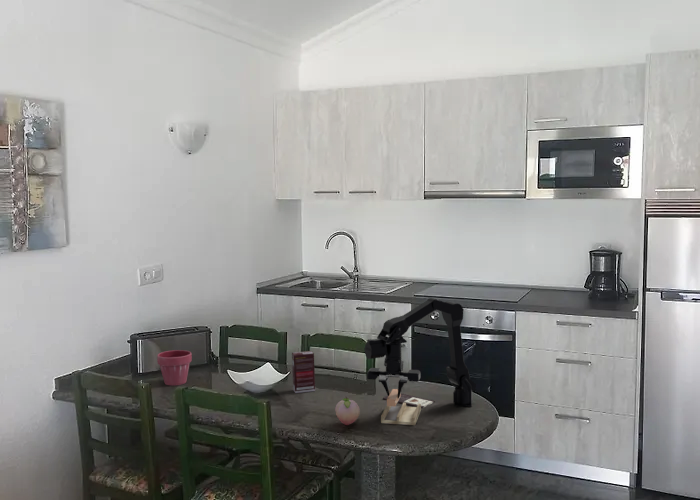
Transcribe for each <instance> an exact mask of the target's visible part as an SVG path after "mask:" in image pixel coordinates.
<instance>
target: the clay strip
mask: <svg viewBox="0 0 700 500" xmlns="http://www.w3.org/2000/svg"><path fill="white" fill-rule="evenodd" d="M387 396H388V395H387ZM400 397H401V394H400ZM400 397H399V398H398V388H392V389H391V390H390V395H389V396H388V398H387V400H386V406H397V404H398V403H397V402H398V400H399V399H400Z"/></svg>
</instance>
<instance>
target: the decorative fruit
mask: <svg viewBox="0 0 700 500" xmlns="http://www.w3.org/2000/svg"><path fill="white" fill-rule="evenodd" d="M334 409H335V414H336V417H337V419H338V420H339V421H340V422H341V423H342V424H343V425H346V426H349V425H352V424H353V423H355V422H356V421H357V420H358V418H359V416H360V414H361V412H360V411H361V408H360V406H359V405H358V403H357V402H356V401H355V400H353V399H350V398H348V397H346V398H342V399H341V400H340V401H338V402H337V403H336V405H335V408H334Z"/></svg>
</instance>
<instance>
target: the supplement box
mask: <svg viewBox="0 0 700 500" xmlns="http://www.w3.org/2000/svg"><path fill="white" fill-rule="evenodd" d="M291 365H292V366H291V369H292V371H291V372H292V390H293V392H294V393H295V394H298V393H301V394H302V393H308V392H315V391H316V374H315V353H314V352H313V351H312V350H307V351H297V352H295V351H294V352H291Z"/></svg>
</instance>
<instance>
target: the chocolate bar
mask: <svg viewBox="0 0 700 500" xmlns="http://www.w3.org/2000/svg"><path fill="white" fill-rule="evenodd" d="M387 398H388V395H386V396H384V397H383V398H382V400H384V401H387ZM435 402H436V401H435V400H433V399H428V398H424V397H420V396H416V395H410V394H406V393H402V392H401V397H400V399H399V400H398V402H397V404H400V405H401V404H402V405H403V403H406V406H409V407H417V405H418V403H419V404H421V409H423V408H425V407H428V406H430V405H432V404H434V403H435Z"/></svg>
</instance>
